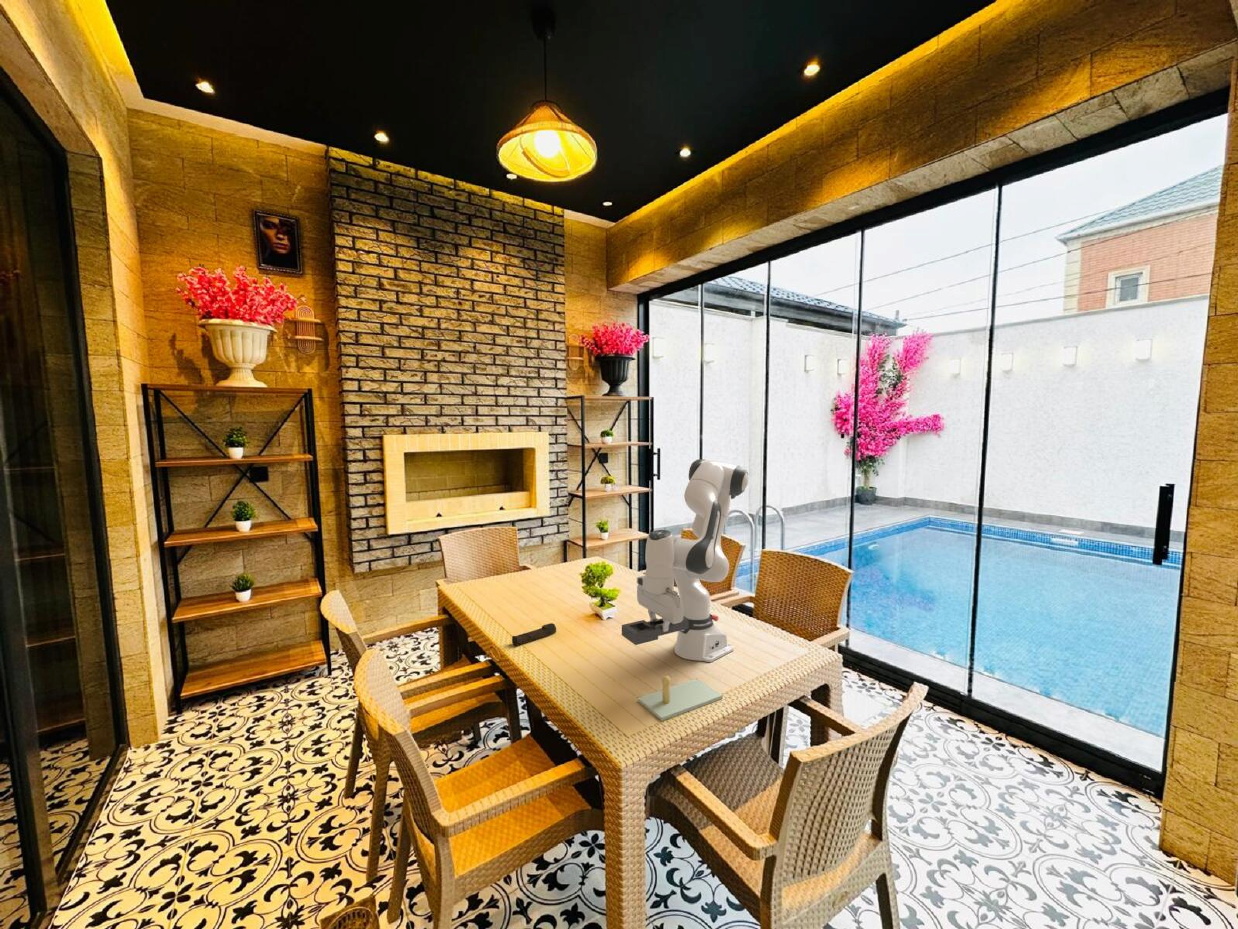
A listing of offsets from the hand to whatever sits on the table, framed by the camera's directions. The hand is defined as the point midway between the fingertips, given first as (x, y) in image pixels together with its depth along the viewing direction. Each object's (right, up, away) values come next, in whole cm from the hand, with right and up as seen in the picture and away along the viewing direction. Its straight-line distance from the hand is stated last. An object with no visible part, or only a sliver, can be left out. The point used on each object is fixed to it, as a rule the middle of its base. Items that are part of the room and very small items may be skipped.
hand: (659, 627), depth 154 cm
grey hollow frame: (-1, -2, 0) cm, 2 cm away
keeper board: (+6, -21, -3) cm, 22 cm away
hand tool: (-45, -18, +40) cm, 63 cm away
